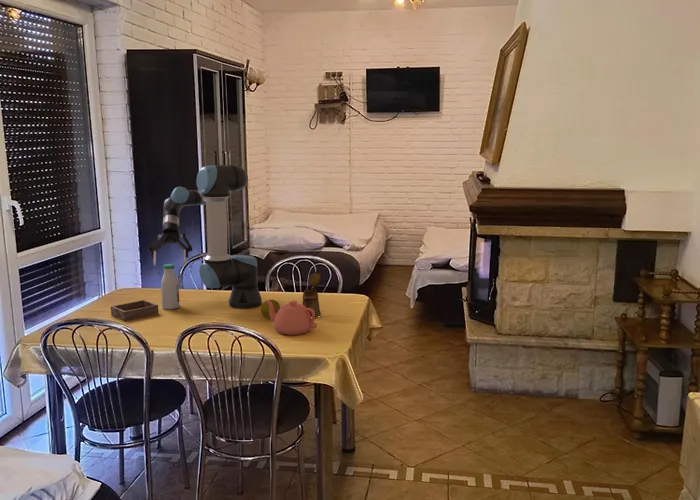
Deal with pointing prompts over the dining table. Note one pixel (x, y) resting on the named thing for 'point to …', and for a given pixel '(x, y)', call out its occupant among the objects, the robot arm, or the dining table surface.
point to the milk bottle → (169, 288)
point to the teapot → (292, 318)
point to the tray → (134, 310)
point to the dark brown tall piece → (312, 294)
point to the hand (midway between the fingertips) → (169, 263)
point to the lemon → (265, 308)
